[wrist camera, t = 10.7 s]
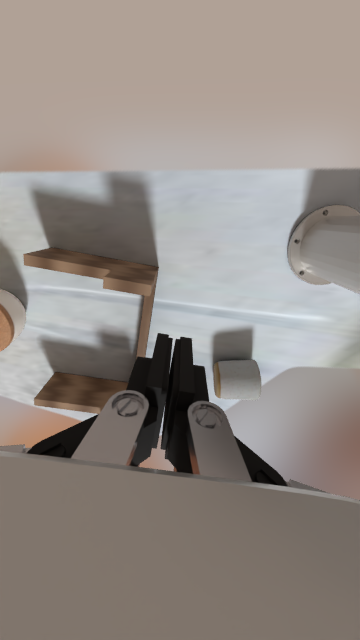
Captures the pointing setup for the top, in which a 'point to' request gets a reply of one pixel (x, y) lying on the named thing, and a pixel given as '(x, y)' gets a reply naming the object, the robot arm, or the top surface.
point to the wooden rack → (116, 275)
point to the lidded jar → (10, 318)
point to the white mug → (237, 380)
